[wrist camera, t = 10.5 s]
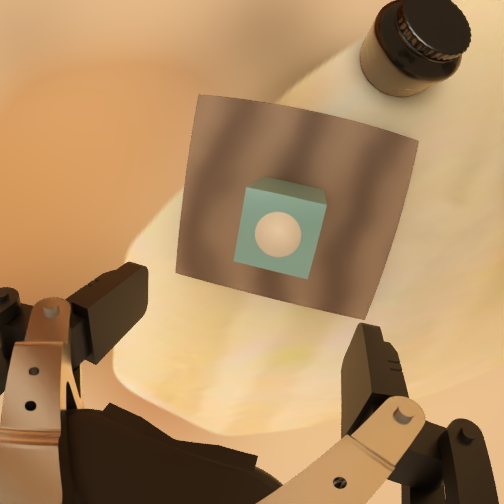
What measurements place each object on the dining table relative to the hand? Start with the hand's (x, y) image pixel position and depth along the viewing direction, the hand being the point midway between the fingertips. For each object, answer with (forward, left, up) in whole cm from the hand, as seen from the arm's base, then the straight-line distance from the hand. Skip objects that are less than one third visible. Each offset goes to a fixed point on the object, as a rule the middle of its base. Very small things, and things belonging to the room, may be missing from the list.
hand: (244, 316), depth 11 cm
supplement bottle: (-7, -16, -20) cm, 27 cm away
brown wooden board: (0, 0, -20) cm, 20 cm away
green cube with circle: (0, 0, -17) cm, 17 cm away
